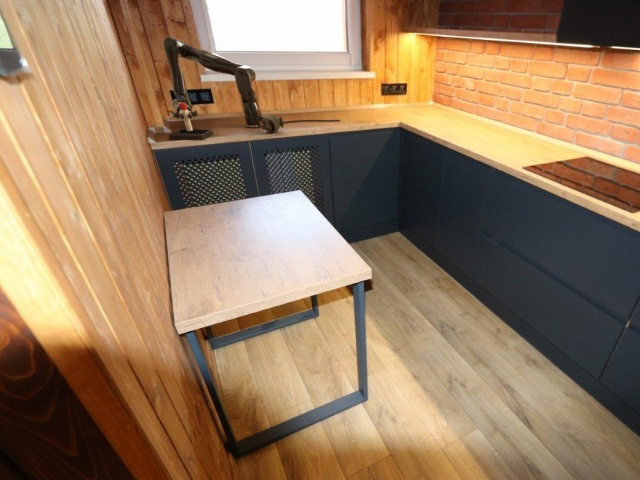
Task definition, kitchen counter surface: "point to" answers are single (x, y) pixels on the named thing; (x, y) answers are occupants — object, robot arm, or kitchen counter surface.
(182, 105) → the marker
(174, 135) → the tray
